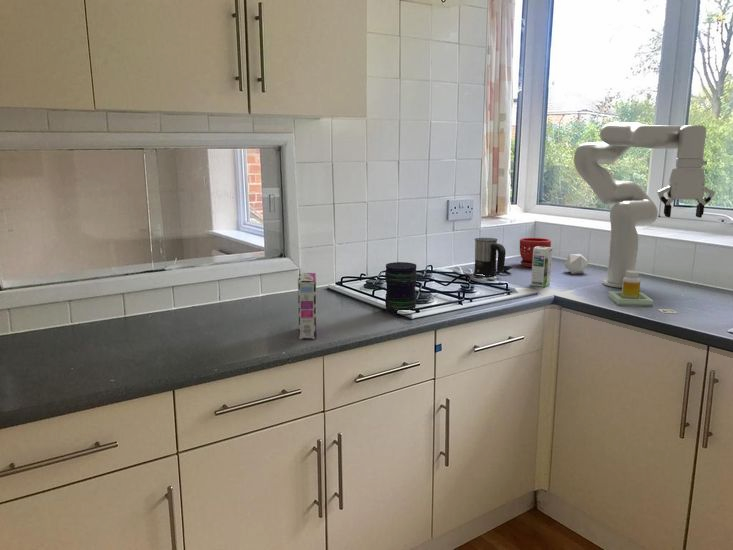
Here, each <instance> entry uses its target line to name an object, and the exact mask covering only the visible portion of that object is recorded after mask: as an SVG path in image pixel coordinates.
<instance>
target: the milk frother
mask: <svg viewBox="0 0 733 550" xmlns="http://www.w3.org/2000/svg"><path fill="white" fill-rule="evenodd" d="M474 241H475V243H474V244H475V245H474V272H473V274H474V273H475V274H483V275H485V276H484V277H490V276H489V275H494V276H497V273H502V272H504V273H506V272H508V271H509V270H512V269H514V268H515V265H510V266H509V265H505V261H506V248H505V247H504V245H502V244H501V243H498V238H495V237H476V238H474ZM494 276H493V277H494Z"/></svg>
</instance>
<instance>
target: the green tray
mask: <svg viewBox="0 0 733 550" xmlns="http://www.w3.org/2000/svg"><path fill="white" fill-rule="evenodd" d="M621 295H622V291H608V295H607V296H608V298H609V299H610V300H611V301H612V302H613V303H614V304H615V305H616V306H632V307H653V306H654V299H652V298H650V297H649V296H648V295H646V293H644V292H642V291H639V299H625V298H621Z"/></svg>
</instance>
